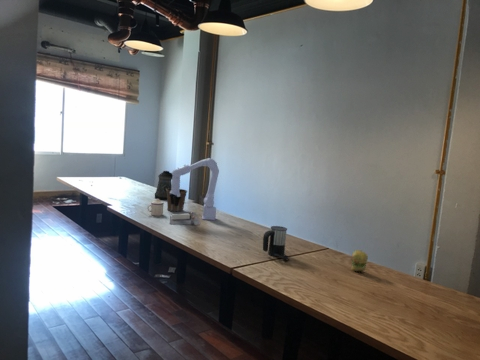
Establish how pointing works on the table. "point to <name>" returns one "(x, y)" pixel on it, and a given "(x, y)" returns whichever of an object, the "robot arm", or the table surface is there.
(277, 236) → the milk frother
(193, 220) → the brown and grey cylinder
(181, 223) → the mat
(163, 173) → the beer stein
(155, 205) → the teacup with lid
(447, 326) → the table surface
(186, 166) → the robot arm
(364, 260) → the hamburger
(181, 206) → the plant pot
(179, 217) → the white long block
